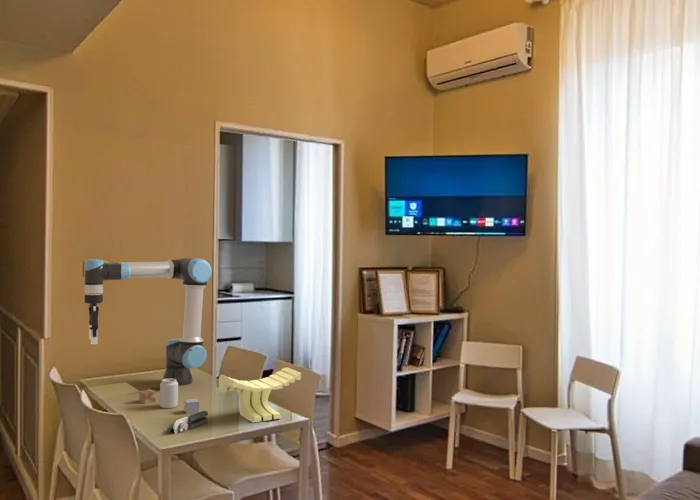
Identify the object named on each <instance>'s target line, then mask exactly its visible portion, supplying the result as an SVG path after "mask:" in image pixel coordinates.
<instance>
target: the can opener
mask: <svg viewBox="0 0 700 500" xmlns="http://www.w3.org/2000/svg"><path fill="white" fill-rule="evenodd" d="M208 415H209V412H208V411H206V410H201V411H199V413H192V414H189V415H187V416H184V417H182V418H179V419H177V420H175V421H174V422H173V423H172V424H170V425H169V426H168V427H166V433H167V434H173V433H174V434H175V435H176V434H182V433H184V431H186V430H191V429H194V428H196V427H198V426H201V425H203V424H205V423H208V422H209V418H208V417H207V416H208Z"/></svg>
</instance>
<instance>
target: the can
mask: <svg viewBox="0 0 700 500" xmlns="http://www.w3.org/2000/svg"><path fill="white" fill-rule="evenodd" d="M162 379H163V378H162ZM162 379H161V382H160V383H159V407H160V408H161V409H173V408H176V407H177V406H178V405H179V386H178V382H177V381H176V379H172V378H169V379H163V380H162Z"/></svg>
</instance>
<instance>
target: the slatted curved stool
mask: <svg viewBox="0 0 700 500" xmlns="http://www.w3.org/2000/svg"><path fill="white" fill-rule="evenodd" d="M298 380H299V381H300V380H302V372H299V371H297V370H295V369H292V368H290V367H288V366H287V367H284V368H281V369H280V370H279V371H275V372H274V373H273V374H270V375H269V376H267V377H262V378H259V379H253V380H240V379H239V380H238V379H236V378H232V377H229V376H226V375H224V374H220V375H219V378H218V392H220V393H222V394H224V393H227V392H228V391H229V392H235V391H236V392H237V395H238V398H239V402H240V407H239V414H240V416H241V417H243V418H245V419H246V420H248V421H249V422H250V423H258V422H265V421H271V420H272V421H273V420H277V419H283V417H282V415H281V413H280V412H278V411H276V410H275V409H273V408H272V407H271V406H270V404H269V397H270V394H271V392H272V391H273V390H282V389H284V387H286V386H287V387H288V386H290V384H294V383H296V381H298ZM283 386H284V387H283Z"/></svg>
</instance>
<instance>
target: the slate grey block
mask: <svg viewBox="0 0 700 500" xmlns="http://www.w3.org/2000/svg"><path fill="white" fill-rule="evenodd" d="M183 404H184V406H183V407H184V409H183V410H184V411H183V412H185V413H186V415H193V414H196V413H199V412H200V401H199V399H198V398H191V399H189V398H188V399H184V403H183Z"/></svg>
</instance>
